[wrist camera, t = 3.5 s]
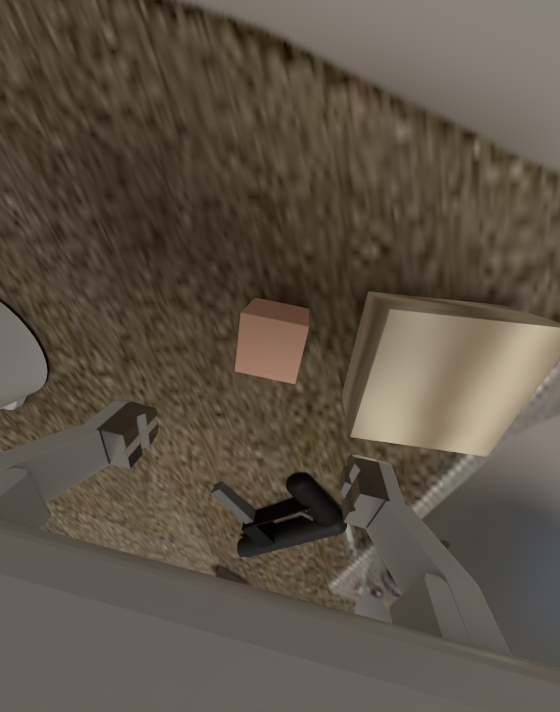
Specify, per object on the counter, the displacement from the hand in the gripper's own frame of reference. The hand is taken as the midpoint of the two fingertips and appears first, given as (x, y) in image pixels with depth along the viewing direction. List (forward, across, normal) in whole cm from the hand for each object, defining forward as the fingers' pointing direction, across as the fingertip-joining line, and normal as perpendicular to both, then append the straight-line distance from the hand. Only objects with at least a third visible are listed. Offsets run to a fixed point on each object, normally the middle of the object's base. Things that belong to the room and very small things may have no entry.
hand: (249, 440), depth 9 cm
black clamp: (+14, +3, -29) cm, 33 cm away
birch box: (+14, +12, 0) cm, 19 cm away
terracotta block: (+14, -1, 0) cm, 14 cm away
